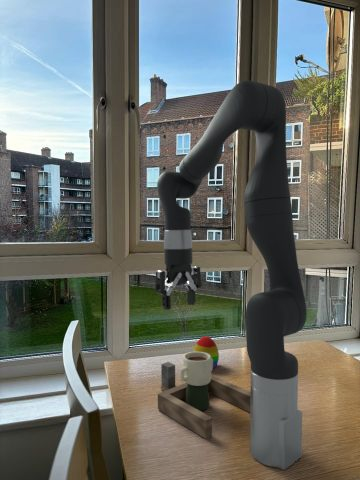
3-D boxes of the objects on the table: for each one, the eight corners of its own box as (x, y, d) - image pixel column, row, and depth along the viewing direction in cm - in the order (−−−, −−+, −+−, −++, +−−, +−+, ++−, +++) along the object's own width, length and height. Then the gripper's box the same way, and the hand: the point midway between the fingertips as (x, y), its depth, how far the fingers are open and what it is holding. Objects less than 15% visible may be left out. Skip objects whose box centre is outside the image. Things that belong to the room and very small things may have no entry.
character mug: (202, 394, 104) (202, 347, 103) (222, 404, 98) (222, 354, 98) (171, 408, 97) (171, 357, 96) (190, 419, 91) (190, 365, 91)
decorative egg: (189, 370, 121) (189, 339, 120) (198, 361, 128) (198, 331, 127) (214, 374, 117) (214, 342, 117) (221, 364, 125) (221, 334, 124)
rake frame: (258, 411, 95) (258, 383, 94) (205, 438, 83) (205, 407, 82) (188, 378, 114) (188, 355, 114) (138, 397, 102) (138, 371, 102)
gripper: (166, 249, 96) (167, 313, 96) (206, 245, 105) (208, 304, 106) (148, 248, 101) (149, 309, 102) (188, 245, 111) (189, 301, 111)
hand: (179, 306), depth 104 cm, fingers open, 8 cm apart
